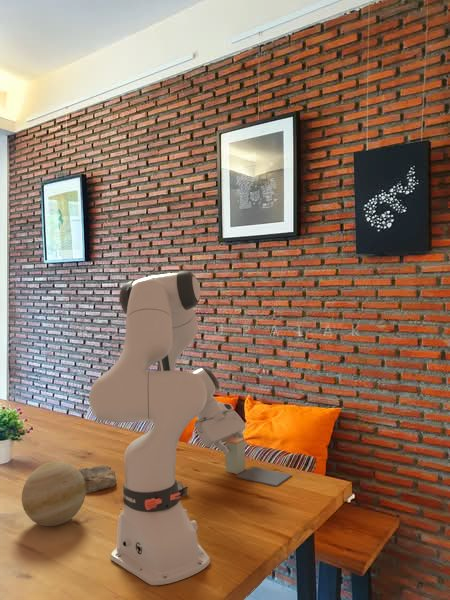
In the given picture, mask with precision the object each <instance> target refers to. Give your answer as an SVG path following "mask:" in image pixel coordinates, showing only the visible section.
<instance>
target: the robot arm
mask: <svg viewBox="0 0 450 600" xmlns="http://www.w3.org/2000/svg"><path fill="white" fill-rule="evenodd" d="M200 298H201V286H200V283H199V281H198V280H197V277H196V275H195V274H193V272H191V271H187V270H186V271H183V270H181V271H178V272H172V273H171V272H169V273H162V274H153V275H149V276H146V277H142V278H139V279H136V280H135V279H133V280H130V281H128V282H126V283H124V284H123V286H122V287H121V289H120V290H119V301H120V305H121V309H122V311H123V312H124V314H125V315H126V316H125V318H126V321H125V333H124V334H125V335H124V336H125V337H124V341H123V348H122V351H121V354H120V356H119V357H118V359H117V360H116V361H115V363H114V364H113V366H111V368H109V370H107V371H106V372H104V373H103V374H101V375H99V376H98V378H97V379H95V381H94V382H93V384H92V386H91V388H90V390H89V394H88V401H89V407H90V409H91V411H92V414H93V415H94V416H95V417H96V418H97V419H98V420H99V421H106V422H109V423H110V422H113V423H117V424H118V423H119V424H122V423H123V424H124V423H137V422H138V423H139V422H143V423H144V422H150V423H152V424H153V425H152V428H151V429H150V430H149V431H147V432H146V433H145V434H142V435H141V436H139V437H137V438H136V439H133V440H132V441H131V442H130V443H129V444H128V446H127V448H126V449H125V451H124V479H125V480H124V483H123V487H122V488H123V490H122V498H123V500H122V502H123V503H124V505H123V508H122V510H121V512H120V514H119V515H118V518H117V527H116V529H117V530H116V544H115V545H116V547H115V549H114V550H112V552H111V553H110V560H111V561H113V562H114V563H116V564H117V565H119V566H120V567H122V568H123V569H125V570H126V571H128V572H130V573H131V574H133V575H134V576H136V577H138V578H139V579H141V580H142V581H144V582H145V583H146V584H148V585H150V586H162V585H167V584H168V585H169V584H173V583H175V582H179V581H181V580H184V579H186V578H189V577H192V576H194V575H196V574H197V573H200V572H201V571H203V570H205V568H207V567H208V566H209V565H210V564H211V559H210V557H209V554H207V552H206V551H205V550H204V548H203V547H202V546H201V545H200V543H199V542H198V535H197V531H198V528H199V527H198V524H197V520H195V519H194V520H193V519H192V520H190V519H191V518H190V517H189V516H188V510H187V509H186V508H184V507H183V505H182V503H181V497H182V496H180V495H179V494H181V493H179V487H178V485H177V482H178V481H177V479H176V457H177V449H178V444H179V441H180V438H181V436H182V434H183V433H184V432H185V431H184V430H185V429H186V428H187V426H188V425H189V424H190V422H192V421H193V419H195V418H197V420H195V421H194V428H195V429H196V432H197V434H198V436H199V438H200V440H201V441H202V443H203V445H204V446H205V447H207V448H211V447H214V446H215V447H216V448H217V449H218V450H220V451H222V452H223V454H224V456H225V455H227V454H229V453H230V452H231V450H230V449H229V447H226V446H225V443H224V441H225V440H227V439H229V438H231V437H238V438H243V439H245V436H244V433H243V432H244V431H245V430H246V429H247V425H246V423H245V421H244V420H243V419H242V417H241V416H240V415H239V414H238V413H237V412H236V411H235V410H234V406H233V405H232V404H231V403H226V402H225V403H224V402H219V401H218V399H217V398H216V397H214V394H215V393H216V391H217V388H218V384H219V381H218V379H217V377H216V376H215V374H214V373H213V372H212V371H211V370H210V369H209V368H205V367H200V368H197V369H195V370H193V371H185V370H176V363H177V362H178V361H177V360H178V359H179V357H180V356H181V355H182V354H183V352H184V351H185V350H186V349H188V347H189V346H190V345H191V344H192V343H193V341H194V340H195V338H196V337H197V334H198V332H199V325H198V319H197V316H196V313H195V309H194V308H195V307H197V305H198V303H200ZM156 363H157V366H158V370H154V371H153V370H151V371H148V370H149V368H150V367H151V366H153V365H154V364H156ZM247 444H248V442H247V441H246V440H245V446H246V445H247Z"/></svg>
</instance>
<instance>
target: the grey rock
mask: <svg viewBox="0 0 450 600" xmlns="http://www.w3.org/2000/svg"><path fill="white" fill-rule="evenodd" d="M78 470H79V471H80V473H81V474H82V476H83V478H84V481H85V486H86V493H87V494H89V492H91V493H96V491H101V490H105V488H106V489H108V488H112V487H114V486H116V485H117V476H116V471H114V470H112V466H109V465H100V466H98V465H97V466H93V467H91V468H88V467H87V468H80V469H78Z"/></svg>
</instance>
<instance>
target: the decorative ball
mask: <svg viewBox="0 0 450 600" xmlns="http://www.w3.org/2000/svg"><path fill="white" fill-rule="evenodd" d="M79 470H80V469H78V468H77V467H76V466H75V465H73V464H71V463H69V462H66V461H59V460H54V461H49V462H46V463H43V464H42V465H40V466H38V467H36V468H35V470H33V471H32V472H31V473H30V475H29V476H28V477H27V478H26V480H25V482H24V485H23V488H22V490H21V491H22V492H21V505H22V508H23V510H24V512H25V514H26V516H27V517H28V518H29V519H30V520H32V522H34V523H36V525H40V526H44V527H56V526H60V525H63V524H65V523H67V522H68V521H70V520H71V519H73V518H74V517H75V516H76V515H77V513H78V512H79V511H80V509H81V508H82V506H83V505H84V504H83V503H84V501H85V498H86V486H85V481H84V478H83V476H82V474H81V473H80V471H79Z"/></svg>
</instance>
